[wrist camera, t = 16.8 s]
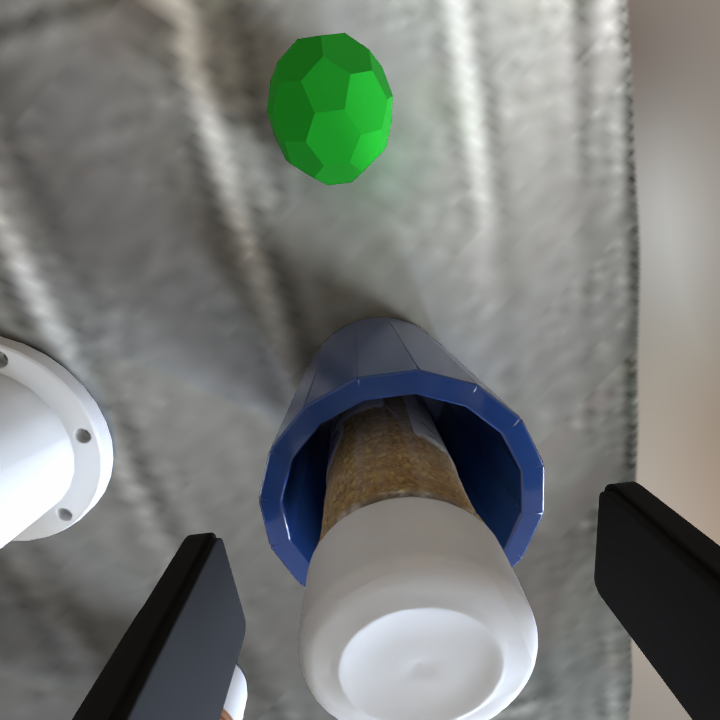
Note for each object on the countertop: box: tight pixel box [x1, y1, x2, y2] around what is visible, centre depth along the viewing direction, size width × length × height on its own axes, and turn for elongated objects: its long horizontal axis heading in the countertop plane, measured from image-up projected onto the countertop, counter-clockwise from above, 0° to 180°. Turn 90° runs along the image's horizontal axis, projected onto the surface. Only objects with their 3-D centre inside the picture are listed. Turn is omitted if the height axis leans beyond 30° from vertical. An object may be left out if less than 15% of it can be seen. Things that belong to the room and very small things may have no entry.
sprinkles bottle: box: [298, 394, 538, 720], centre depth 13 cm, size 5×5×14 cm
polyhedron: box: [267, 33, 393, 185], centre depth 14 cm, size 5×5×5 cm
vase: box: [259, 317, 544, 587], centre depth 15 cm, size 8×8×10 cm
